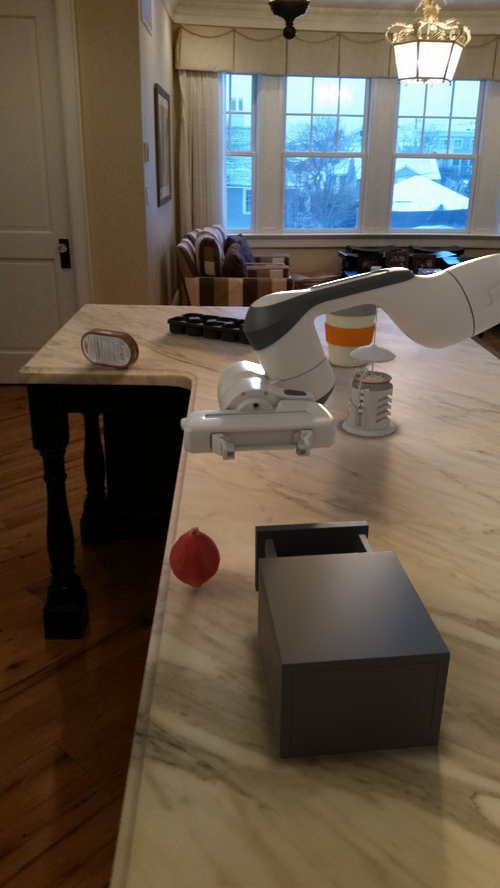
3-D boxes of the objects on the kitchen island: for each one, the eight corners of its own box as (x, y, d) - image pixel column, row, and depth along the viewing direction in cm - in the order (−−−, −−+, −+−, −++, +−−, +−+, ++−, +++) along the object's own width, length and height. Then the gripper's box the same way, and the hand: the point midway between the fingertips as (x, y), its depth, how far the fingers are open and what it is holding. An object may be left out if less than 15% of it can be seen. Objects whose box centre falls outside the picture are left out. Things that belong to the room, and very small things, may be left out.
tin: (140, 367, 165) (138, 332, 162) (133, 371, 163) (130, 335, 159) (88, 360, 171) (85, 326, 168) (80, 363, 169) (77, 328, 165)
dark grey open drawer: (253, 580, 82) (253, 520, 79) (359, 574, 83) (363, 515, 80) (271, 672, 68) (273, 603, 65) (399, 663, 69) (406, 595, 66)
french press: (403, 424, 132) (416, 289, 122) (377, 444, 123) (388, 300, 113) (356, 413, 137) (364, 283, 127) (327, 432, 128) (334, 293, 118)
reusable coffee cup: (311, 360, 171) (313, 298, 165) (345, 351, 179) (348, 292, 173) (350, 371, 163) (354, 307, 157) (384, 362, 170) (389, 299, 164)
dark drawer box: (257, 638, 74) (258, 558, 70) (386, 630, 75) (393, 550, 71) (279, 758, 59) (281, 664, 55) (438, 744, 61) (450, 652, 57)
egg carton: (182, 323, 207) (181, 311, 206) (280, 331, 199) (280, 318, 198) (157, 337, 192) (156, 324, 190) (262, 346, 184) (263, 332, 182)
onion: (161, 584, 83) (157, 524, 80) (200, 567, 86) (198, 509, 83) (189, 606, 79) (187, 544, 76) (230, 587, 82) (229, 527, 79)
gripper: (179, 396, 98) (182, 432, 85) (323, 391, 100) (347, 426, 87) (180, 438, 100) (183, 480, 88) (321, 432, 103) (344, 472, 90)
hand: (266, 453), depth 88 cm, fingers open, 8 cm apart
